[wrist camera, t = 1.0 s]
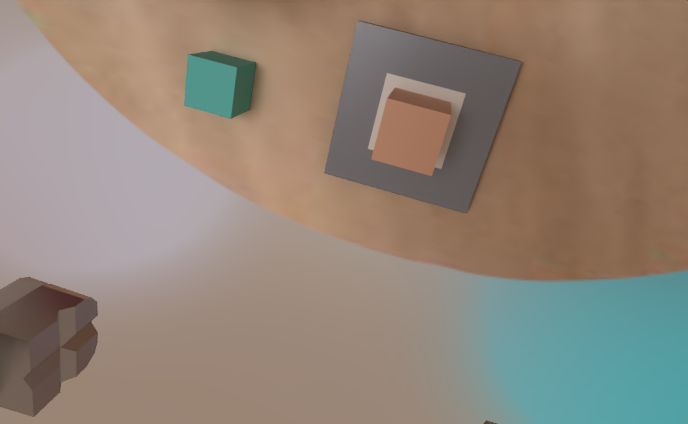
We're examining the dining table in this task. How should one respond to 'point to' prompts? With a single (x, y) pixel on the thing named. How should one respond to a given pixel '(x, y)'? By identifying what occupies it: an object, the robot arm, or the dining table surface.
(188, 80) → the teal block
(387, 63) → the baseplate
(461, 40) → the dining table surface
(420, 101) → the terracotta block
